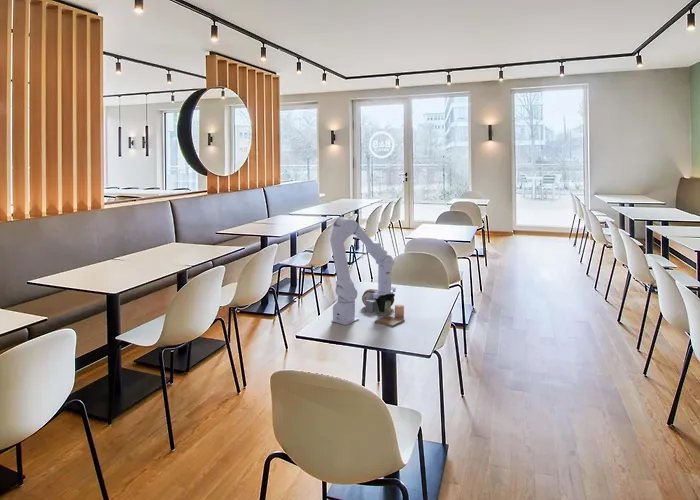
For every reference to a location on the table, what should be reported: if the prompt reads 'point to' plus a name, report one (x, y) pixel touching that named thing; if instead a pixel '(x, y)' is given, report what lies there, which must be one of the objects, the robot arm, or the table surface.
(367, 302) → the grey block
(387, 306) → the green block
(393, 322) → the walnut board
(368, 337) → the table surface
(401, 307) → the peach rounded capsule
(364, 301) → the tin
